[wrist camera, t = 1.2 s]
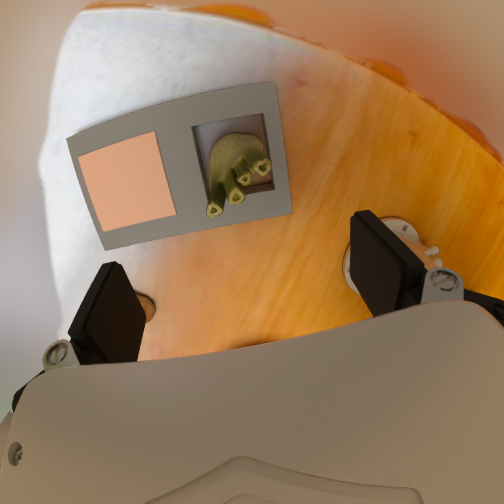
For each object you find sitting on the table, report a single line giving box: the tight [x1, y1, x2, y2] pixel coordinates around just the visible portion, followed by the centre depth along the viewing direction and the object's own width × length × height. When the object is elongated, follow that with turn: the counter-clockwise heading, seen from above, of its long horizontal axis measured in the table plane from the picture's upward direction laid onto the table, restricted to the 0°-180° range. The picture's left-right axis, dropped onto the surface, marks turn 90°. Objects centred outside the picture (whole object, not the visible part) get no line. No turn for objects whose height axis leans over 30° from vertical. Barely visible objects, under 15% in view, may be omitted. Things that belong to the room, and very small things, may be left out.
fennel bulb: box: [206, 133, 272, 218], centre depth 23 cm, size 6×5×12 cm
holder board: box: [66, 82, 292, 251], centre depth 27 cm, size 22×14×3 cm, turn 99°
